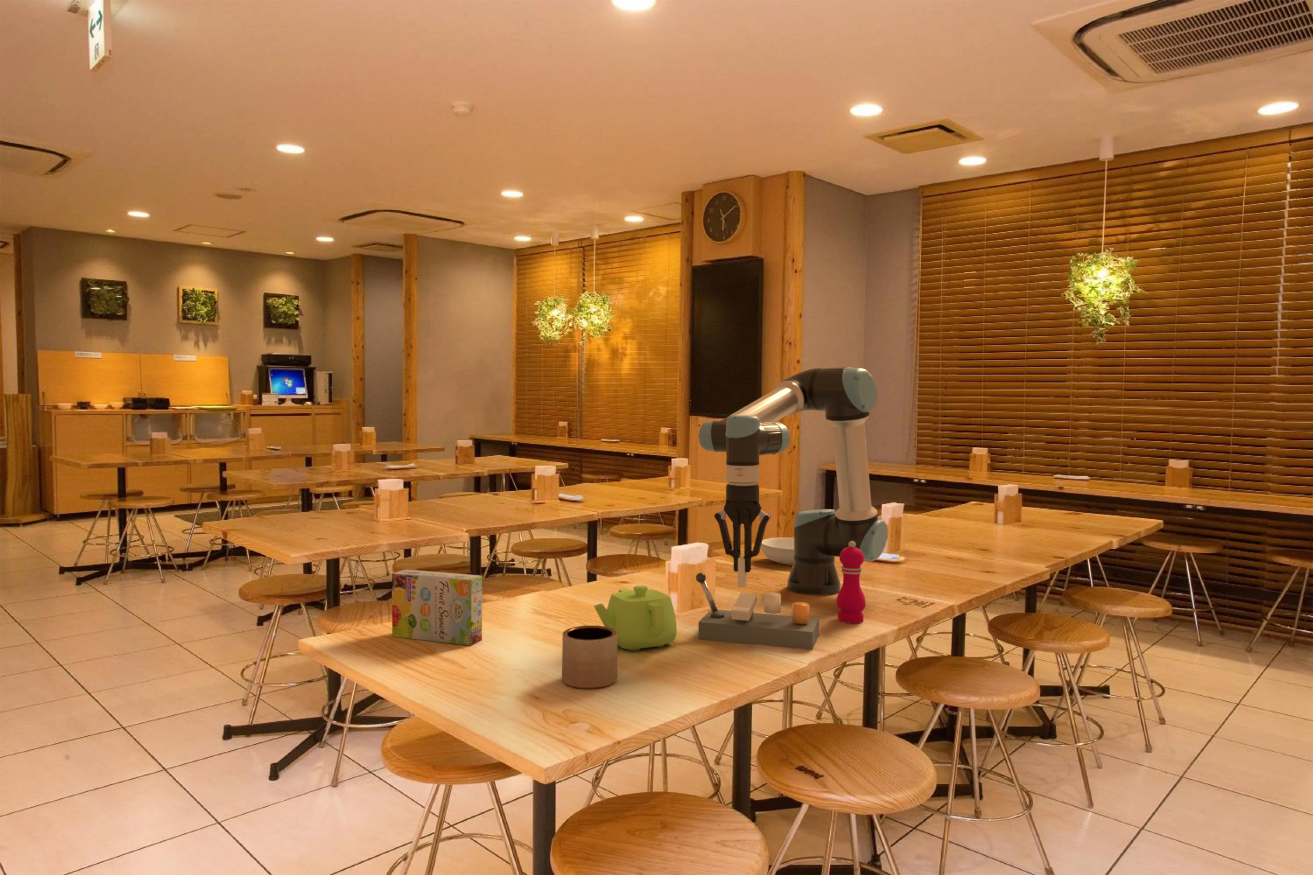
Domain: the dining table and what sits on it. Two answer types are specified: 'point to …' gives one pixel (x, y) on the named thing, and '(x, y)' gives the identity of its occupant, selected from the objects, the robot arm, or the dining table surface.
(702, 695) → the dining table surface
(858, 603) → the pepper mill
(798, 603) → the button orange
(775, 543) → the serving bowl
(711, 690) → the dining table surface
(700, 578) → the lever
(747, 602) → the rocker
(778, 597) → the button cream
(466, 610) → the snack box
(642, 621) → the teapot
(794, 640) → the console
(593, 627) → the planter
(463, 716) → the dining table surface
